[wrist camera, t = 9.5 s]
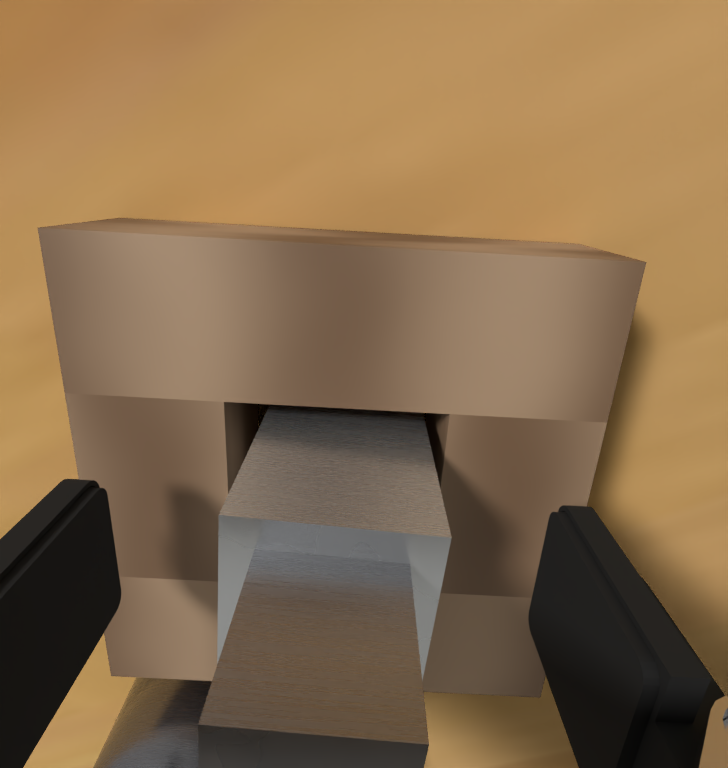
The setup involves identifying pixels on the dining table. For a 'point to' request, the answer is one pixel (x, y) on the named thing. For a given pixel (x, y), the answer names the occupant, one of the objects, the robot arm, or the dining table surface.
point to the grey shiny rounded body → (157, 725)
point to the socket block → (333, 404)
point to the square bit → (327, 594)
